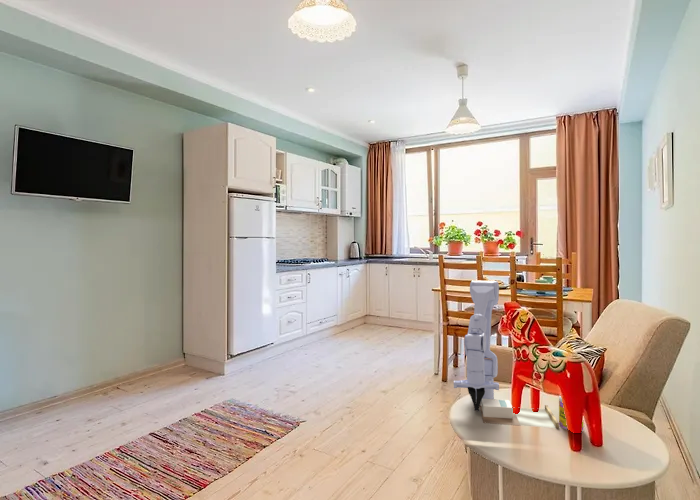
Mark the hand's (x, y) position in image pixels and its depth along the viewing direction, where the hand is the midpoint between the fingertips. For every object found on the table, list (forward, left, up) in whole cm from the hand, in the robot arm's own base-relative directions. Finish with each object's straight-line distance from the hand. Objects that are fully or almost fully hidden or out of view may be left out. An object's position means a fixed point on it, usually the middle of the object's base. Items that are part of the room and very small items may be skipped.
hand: (476, 409), depth 139 cm
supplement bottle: (+6, +27, -2) cm, 28 cm away
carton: (0, +6, -1) cm, 7 cm away
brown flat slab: (+1, +12, -2) cm, 13 cm away
